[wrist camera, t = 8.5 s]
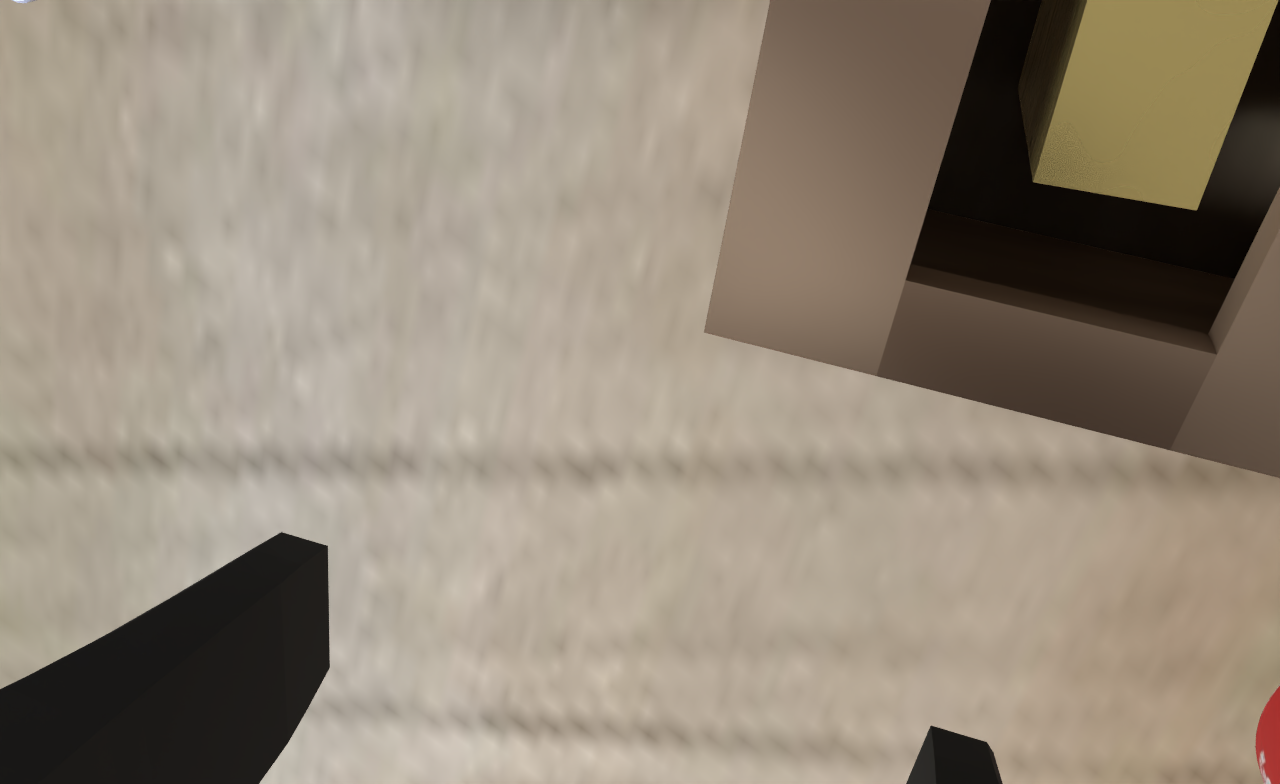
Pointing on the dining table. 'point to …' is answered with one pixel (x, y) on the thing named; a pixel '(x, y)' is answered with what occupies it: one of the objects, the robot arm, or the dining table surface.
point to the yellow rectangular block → (1136, 92)
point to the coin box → (968, 254)
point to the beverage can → (1269, 740)
